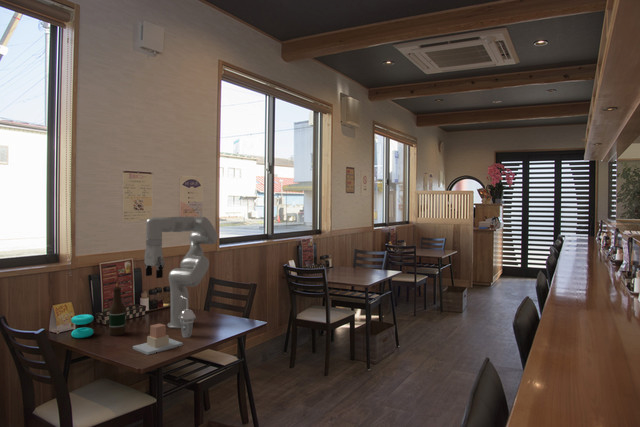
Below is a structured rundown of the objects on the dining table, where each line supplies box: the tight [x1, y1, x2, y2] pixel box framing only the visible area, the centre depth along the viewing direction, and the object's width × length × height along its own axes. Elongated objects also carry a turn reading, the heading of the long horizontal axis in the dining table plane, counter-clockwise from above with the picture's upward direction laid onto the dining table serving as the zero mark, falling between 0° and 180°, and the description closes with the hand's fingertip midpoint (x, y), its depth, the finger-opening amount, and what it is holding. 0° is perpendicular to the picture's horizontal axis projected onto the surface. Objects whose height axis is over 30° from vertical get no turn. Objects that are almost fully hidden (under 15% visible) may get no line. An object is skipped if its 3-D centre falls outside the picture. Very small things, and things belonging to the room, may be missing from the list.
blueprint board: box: [132, 334, 184, 356], centre depth 213 cm, size 18×13×5 cm
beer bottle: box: [108, 286, 127, 337], centre depth 233 cm, size 8×8×24 cm
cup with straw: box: [178, 296, 196, 339], centre depth 231 cm, size 8×9×20 cm
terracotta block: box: [149, 323, 167, 338], centre depth 213 cm, size 5×5×5 cm
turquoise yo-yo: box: [71, 313, 95, 339], centre depth 230 cm, size 10×10×10 cm
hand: (154, 276), depth 229 cm, fingers open, 9 cm apart
